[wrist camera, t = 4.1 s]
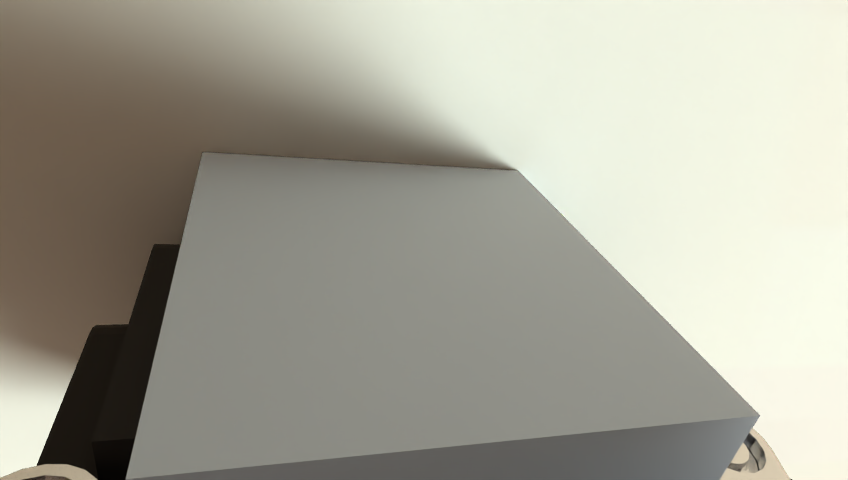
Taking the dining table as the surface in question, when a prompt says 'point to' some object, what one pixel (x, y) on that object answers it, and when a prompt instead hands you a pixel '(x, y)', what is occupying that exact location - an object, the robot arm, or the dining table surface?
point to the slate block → (414, 338)
